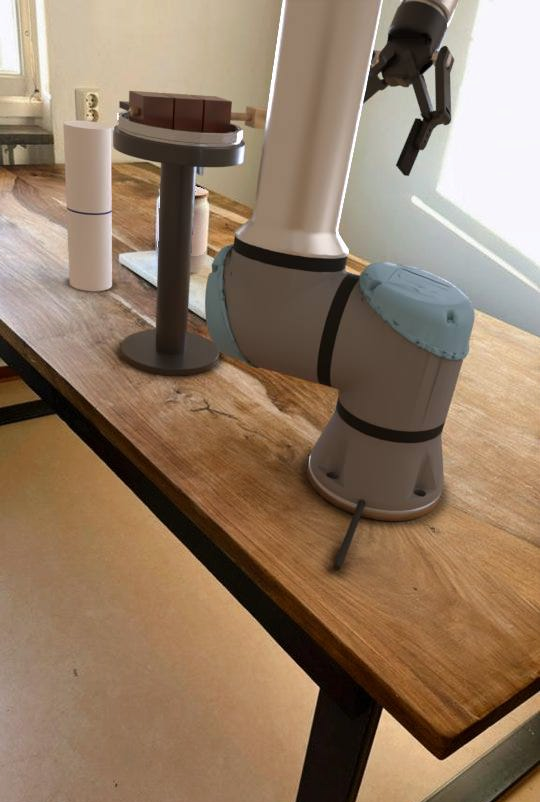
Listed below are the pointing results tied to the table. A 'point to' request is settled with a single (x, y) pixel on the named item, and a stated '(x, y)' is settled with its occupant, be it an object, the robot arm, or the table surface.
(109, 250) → the cylindrical container
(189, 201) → the plant stand
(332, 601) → the table surface
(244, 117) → the beef skewer
